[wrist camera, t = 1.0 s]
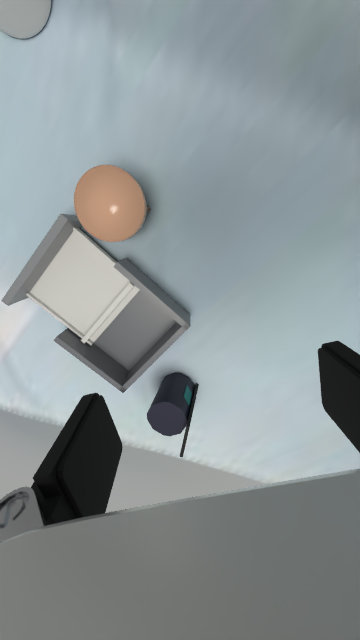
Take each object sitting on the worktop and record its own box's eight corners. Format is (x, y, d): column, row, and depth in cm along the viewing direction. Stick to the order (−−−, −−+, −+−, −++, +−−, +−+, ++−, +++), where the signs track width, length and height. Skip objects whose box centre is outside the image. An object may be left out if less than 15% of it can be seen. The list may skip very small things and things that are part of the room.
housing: (190, 314, 38) (190, 326, 34) (130, 375, 42) (123, 393, 37) (126, 258, 36) (117, 261, 31) (69, 327, 40) (53, 340, 35)
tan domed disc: (107, 153, 27) (101, 147, 25) (160, 204, 29) (158, 202, 27) (68, 209, 29) (60, 207, 28) (119, 254, 31) (115, 256, 29)
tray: (149, 279, 36) (143, 285, 32) (91, 345, 40) (78, 359, 36) (78, 216, 34) (60, 213, 29) (24, 292, 38) (1, 300, 33)
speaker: (210, 386, 42) (207, 432, 32) (192, 409, 44) (184, 459, 34) (171, 363, 42) (156, 402, 32) (155, 387, 44) (136, 431, 34)
